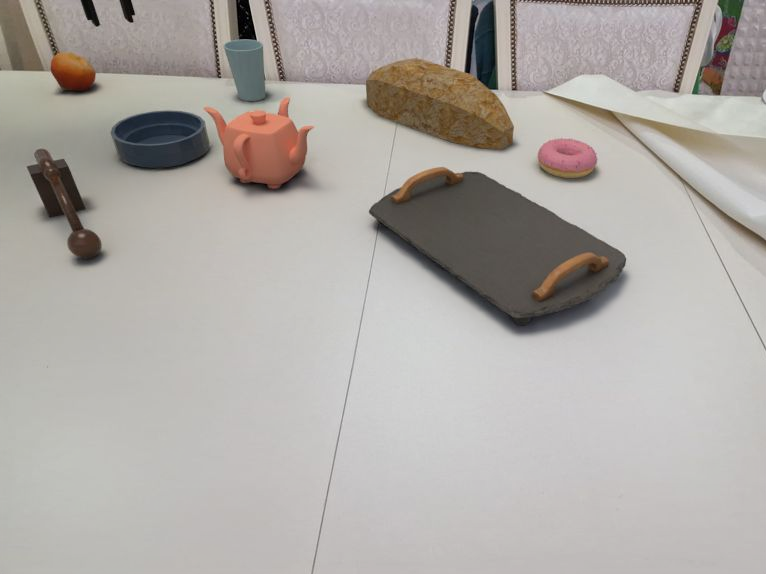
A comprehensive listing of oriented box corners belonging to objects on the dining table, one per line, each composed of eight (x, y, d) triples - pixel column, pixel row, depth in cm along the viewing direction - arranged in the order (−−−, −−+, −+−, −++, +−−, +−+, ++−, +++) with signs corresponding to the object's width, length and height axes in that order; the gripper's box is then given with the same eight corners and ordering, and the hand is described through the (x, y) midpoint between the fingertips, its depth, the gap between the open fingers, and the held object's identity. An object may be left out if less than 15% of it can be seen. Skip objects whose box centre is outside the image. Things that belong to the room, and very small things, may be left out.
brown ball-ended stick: (109, 258, 85) (85, 200, 79) (77, 267, 84) (50, 208, 78) (76, 198, 97) (53, 143, 91) (48, 205, 95) (22, 149, 89)
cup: (278, 95, 133) (270, 44, 126) (251, 106, 128) (241, 53, 121) (254, 87, 136) (244, 37, 129) (226, 97, 131) (215, 45, 124)
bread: (352, 106, 131) (349, 56, 124) (387, 93, 138) (385, 45, 131) (490, 156, 116) (494, 102, 109) (521, 138, 123) (527, 87, 116)
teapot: (216, 166, 108) (201, 102, 100) (296, 153, 113) (288, 92, 106) (235, 203, 98) (221, 136, 91) (322, 187, 104) (314, 122, 96)
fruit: (47, 77, 131) (56, 41, 127) (90, 94, 136) (100, 60, 132) (43, 90, 125) (52, 53, 122) (87, 107, 130) (97, 72, 127)
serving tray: (355, 217, 97) (352, 181, 93) (466, 178, 109) (468, 144, 104) (529, 347, 76) (535, 307, 72) (642, 281, 88) (653, 244, 84)
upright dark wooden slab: (85, 208, 95) (68, 166, 90) (49, 217, 93) (29, 174, 88) (81, 200, 97) (64, 158, 92) (45, 208, 94) (26, 165, 90)
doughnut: (605, 167, 115) (610, 145, 112) (576, 187, 108) (580, 165, 105) (555, 150, 119) (558, 129, 117) (524, 168, 113) (527, 147, 110)
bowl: (114, 174, 104) (105, 148, 101) (124, 137, 114) (116, 113, 111) (209, 166, 107) (203, 141, 104) (210, 131, 118) (205, 108, 115)
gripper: (125, -118, 96) (159, 11, 109) (0, -116, 89) (52, 23, 101) (138, -112, 92) (172, 22, 104) (8, -110, 84) (61, 35, 96)
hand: (112, 21), depth 102 cm, fingers open, 4 cm apart
